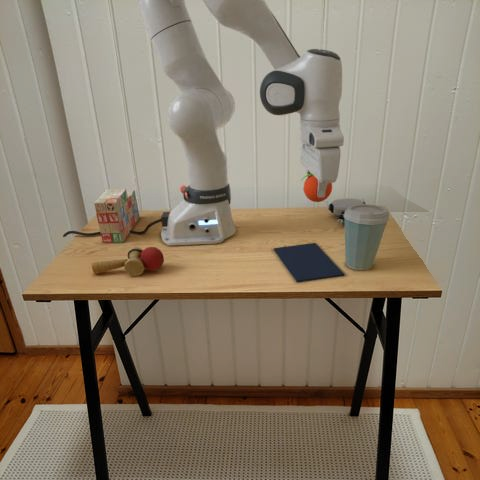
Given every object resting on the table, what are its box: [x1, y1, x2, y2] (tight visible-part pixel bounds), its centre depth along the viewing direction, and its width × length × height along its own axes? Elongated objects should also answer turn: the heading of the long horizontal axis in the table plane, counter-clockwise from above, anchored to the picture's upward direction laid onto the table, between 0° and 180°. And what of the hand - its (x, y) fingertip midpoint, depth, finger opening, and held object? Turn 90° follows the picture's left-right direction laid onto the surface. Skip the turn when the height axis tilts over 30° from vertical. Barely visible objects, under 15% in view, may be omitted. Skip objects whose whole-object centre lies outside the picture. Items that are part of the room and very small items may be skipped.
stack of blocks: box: [93, 188, 140, 244], centre depth 139 cm, size 21×6×12 cm, turn 178°
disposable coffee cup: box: [343, 203, 390, 271], centre depth 110 cm, size 11×11×15 cm
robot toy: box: [325, 197, 367, 224], centre depth 141 cm, size 12×4×15 cm
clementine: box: [301, 174, 333, 203], centre depth 111 cm, size 8×7×7 cm
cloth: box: [273, 242, 345, 283], centre depth 117 cm, size 12×20×1 cm, turn 13°
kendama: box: [91, 246, 165, 277], centre depth 115 cm, size 8×6×18 cm
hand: (315, 191), depth 111 cm, fingers closed on clementine, 7 cm apart
